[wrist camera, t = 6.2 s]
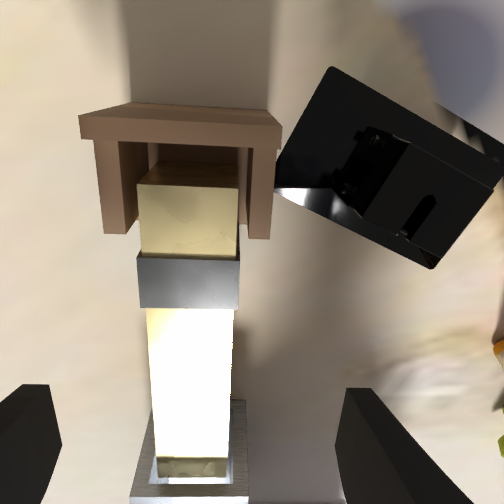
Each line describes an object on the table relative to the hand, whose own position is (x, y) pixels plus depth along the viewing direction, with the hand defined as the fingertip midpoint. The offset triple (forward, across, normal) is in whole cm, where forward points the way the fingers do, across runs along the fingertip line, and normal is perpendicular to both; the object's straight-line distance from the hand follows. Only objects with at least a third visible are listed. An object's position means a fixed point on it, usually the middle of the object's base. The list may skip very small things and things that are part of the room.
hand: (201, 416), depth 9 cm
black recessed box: (+10, -7, -4) cm, 13 cm away
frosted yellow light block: (+9, +1, +2) cm, 10 cm away
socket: (+9, +1, -4) cm, 10 cm away
